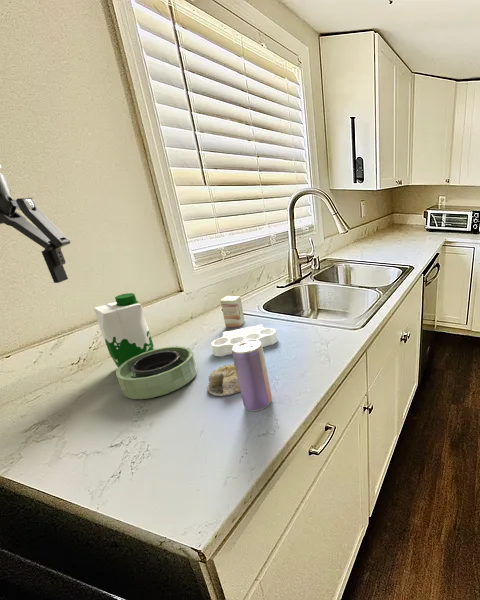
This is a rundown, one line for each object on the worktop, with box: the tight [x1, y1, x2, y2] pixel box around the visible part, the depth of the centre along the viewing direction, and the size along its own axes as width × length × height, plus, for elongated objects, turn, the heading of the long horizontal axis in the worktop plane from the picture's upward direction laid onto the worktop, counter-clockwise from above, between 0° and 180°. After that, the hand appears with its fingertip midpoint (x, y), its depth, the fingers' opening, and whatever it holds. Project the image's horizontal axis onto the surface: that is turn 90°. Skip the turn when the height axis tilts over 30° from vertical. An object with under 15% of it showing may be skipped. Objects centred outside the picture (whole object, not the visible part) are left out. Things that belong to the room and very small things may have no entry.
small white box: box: [220, 295, 246, 328], centre depth 112 cm, size 5×4×10 cm
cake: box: [206, 363, 241, 397], centre depth 80 cm, size 10×10×5 cm
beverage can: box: [231, 340, 273, 412], centre depth 71 cm, size 6×6×15 cm
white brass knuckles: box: [210, 324, 278, 357], centre depth 100 cm, size 3×18×15 cm
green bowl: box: [115, 345, 198, 400], centre depth 81 cm, size 15×15×6 cm
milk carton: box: [93, 292, 155, 368], centre depth 86 cm, size 9×9×20 cm
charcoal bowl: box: [131, 351, 182, 378], centre depth 81 cm, size 10×10×6 cm
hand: (21, 283), depth 66 cm, fingers open, 13 cm apart
